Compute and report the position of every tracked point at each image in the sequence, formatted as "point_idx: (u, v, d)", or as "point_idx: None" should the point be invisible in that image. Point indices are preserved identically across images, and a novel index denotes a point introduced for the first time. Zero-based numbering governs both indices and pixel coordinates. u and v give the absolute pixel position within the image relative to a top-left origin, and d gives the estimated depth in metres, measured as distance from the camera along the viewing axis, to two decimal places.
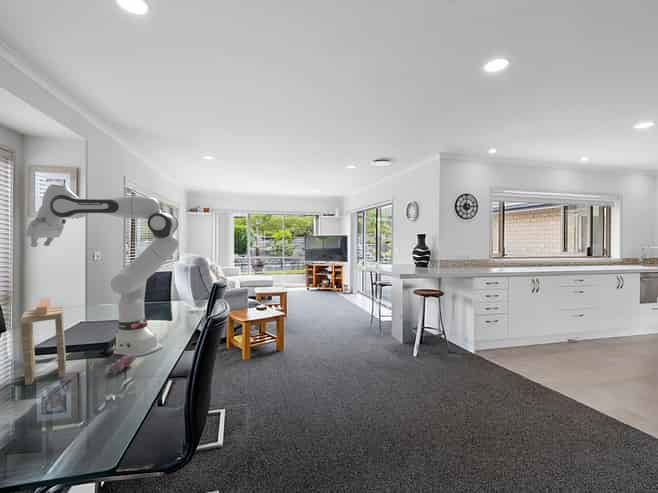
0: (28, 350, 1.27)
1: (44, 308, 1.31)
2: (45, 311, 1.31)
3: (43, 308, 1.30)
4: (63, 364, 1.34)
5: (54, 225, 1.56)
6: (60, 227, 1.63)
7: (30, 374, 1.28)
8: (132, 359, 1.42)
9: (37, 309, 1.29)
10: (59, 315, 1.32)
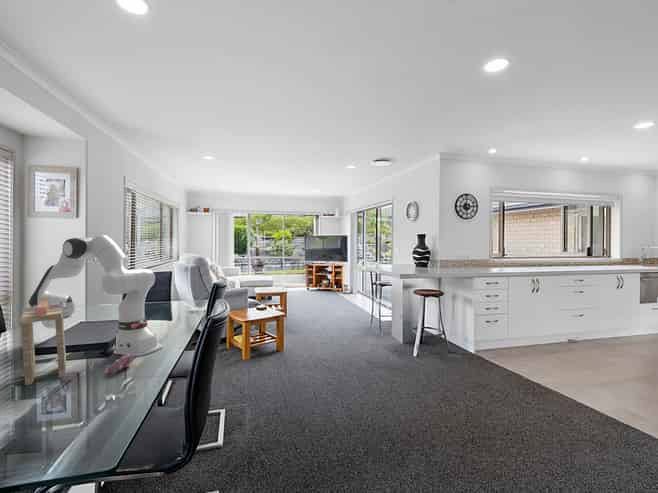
0: (28, 350, 1.27)
1: (44, 308, 1.31)
2: (45, 311, 1.31)
3: (43, 308, 1.30)
4: (63, 364, 1.34)
5: None
6: None
7: (30, 374, 1.28)
8: (131, 359, 1.42)
9: (37, 309, 1.29)
10: (59, 315, 1.32)
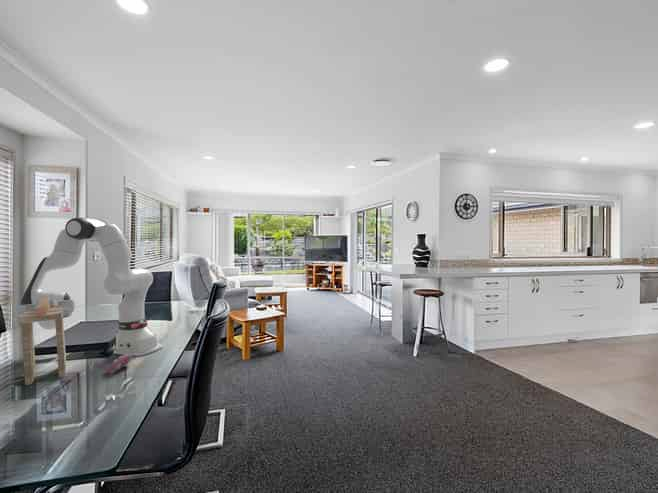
0: (28, 350, 1.27)
1: (44, 308, 1.31)
2: (45, 311, 1.31)
3: (43, 308, 1.30)
4: (63, 364, 1.34)
5: None
6: None
7: (30, 374, 1.28)
8: (129, 359, 1.42)
9: (37, 309, 1.29)
10: (59, 315, 1.32)
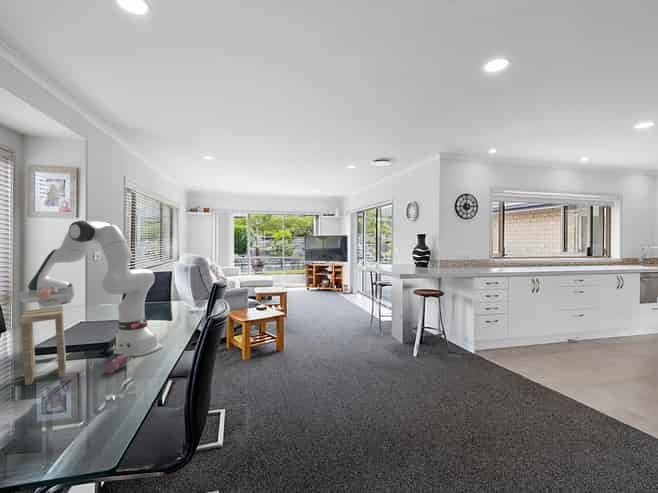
0: (28, 350, 1.27)
1: (46, 293, 1.42)
2: (47, 296, 1.42)
3: (45, 293, 1.42)
4: (63, 364, 1.34)
5: None
6: None
7: (30, 374, 1.28)
8: (127, 359, 1.42)
9: (39, 294, 1.41)
10: (59, 315, 1.32)
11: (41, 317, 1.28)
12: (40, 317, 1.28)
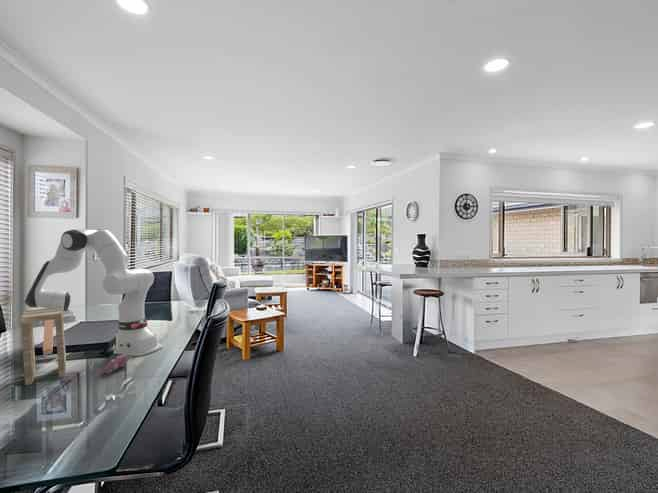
0: (28, 350, 1.27)
1: (50, 349, 1.47)
2: (51, 351, 1.47)
3: (49, 349, 1.46)
4: (63, 364, 1.34)
5: None
6: (69, 313, 1.71)
7: (30, 374, 1.28)
8: (126, 359, 1.42)
9: (43, 351, 1.45)
10: (59, 315, 1.32)
11: (41, 317, 1.28)
12: (40, 317, 1.28)
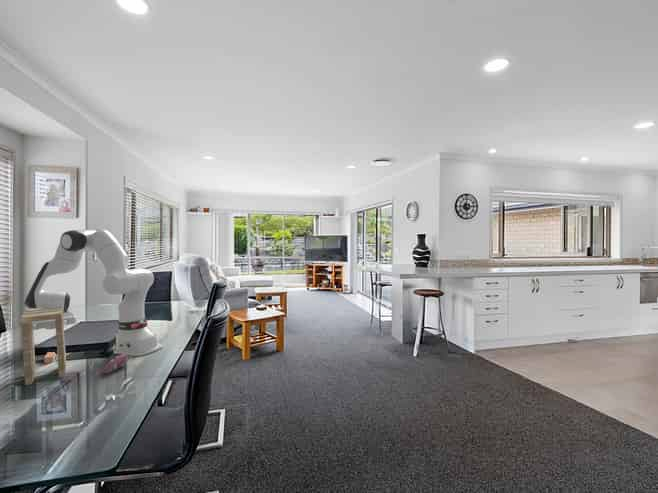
0: (28, 350, 1.27)
1: (51, 358, 1.49)
2: (51, 360, 1.49)
3: (50, 358, 1.49)
4: (63, 364, 1.34)
5: None
6: (69, 315, 1.71)
7: (30, 374, 1.28)
8: (125, 359, 1.42)
9: (45, 359, 1.48)
10: (59, 315, 1.32)
11: (41, 317, 1.28)
12: (40, 317, 1.28)
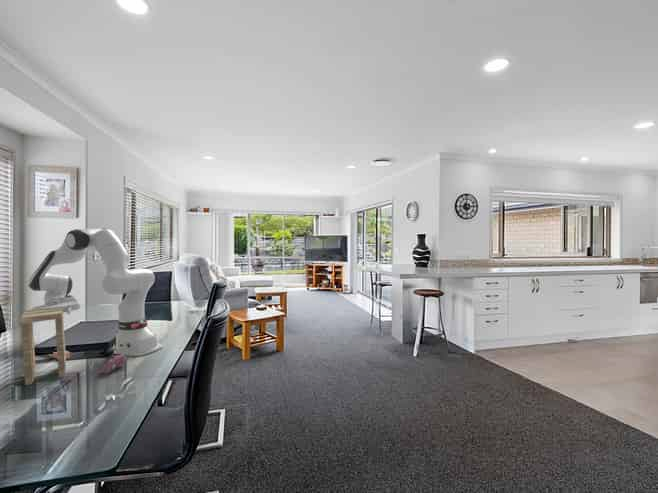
0: (28, 350, 1.27)
1: (68, 353, 1.54)
2: (69, 356, 1.54)
3: (67, 353, 1.54)
4: (63, 364, 1.34)
5: (53, 301, 1.77)
6: (72, 300, 1.81)
7: (30, 374, 1.28)
8: (124, 359, 1.42)
9: None
10: (59, 315, 1.32)
11: (41, 317, 1.28)
12: (40, 317, 1.28)
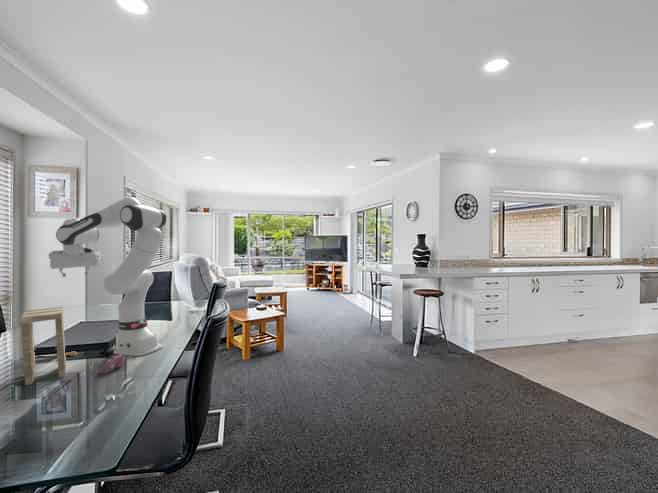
0: (28, 350, 1.27)
1: None
2: None
3: None
4: (63, 364, 1.34)
5: (73, 255, 1.74)
6: (92, 256, 1.79)
7: (30, 374, 1.28)
8: (122, 359, 1.42)
9: None
10: (59, 315, 1.32)
11: (41, 317, 1.28)
12: (40, 317, 1.28)
